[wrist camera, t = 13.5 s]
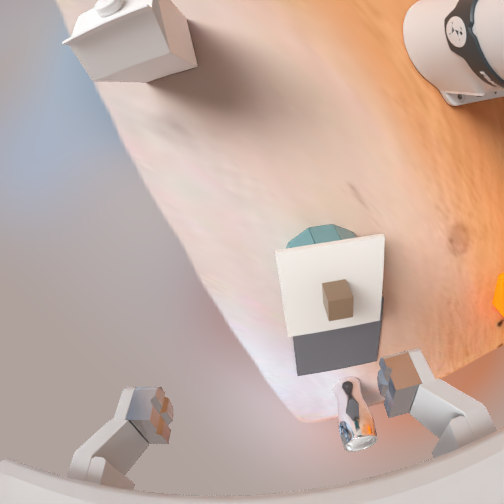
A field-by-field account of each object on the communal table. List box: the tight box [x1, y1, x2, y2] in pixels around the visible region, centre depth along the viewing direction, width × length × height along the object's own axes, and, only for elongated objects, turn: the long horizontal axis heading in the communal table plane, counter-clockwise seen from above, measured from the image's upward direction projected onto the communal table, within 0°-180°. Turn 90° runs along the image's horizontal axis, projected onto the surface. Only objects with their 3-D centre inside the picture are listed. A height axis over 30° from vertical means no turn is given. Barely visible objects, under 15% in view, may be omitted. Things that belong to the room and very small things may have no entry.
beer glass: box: [332, 377, 378, 452], centre depth 55 cm, size 7×7×15 cm
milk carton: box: [62, 0, 198, 83], centre depth 25 cm, size 7×7×19 cm
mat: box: [293, 296, 384, 376], centre depth 55 cm, size 16×16×1 cm
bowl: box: [286, 224, 357, 249], centre depth 45 cm, size 13×13×6 cm
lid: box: [275, 233, 385, 337], centre depth 40 cm, size 14×14×5 cm
